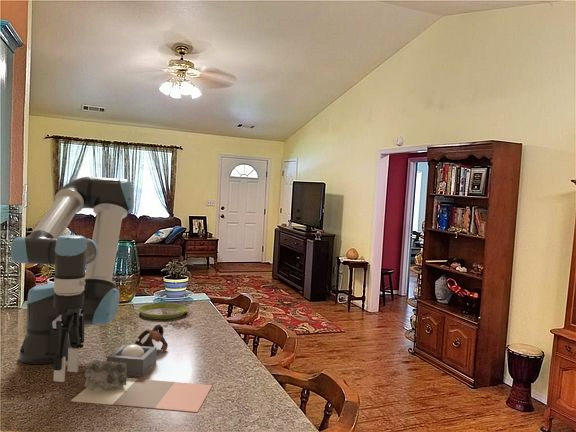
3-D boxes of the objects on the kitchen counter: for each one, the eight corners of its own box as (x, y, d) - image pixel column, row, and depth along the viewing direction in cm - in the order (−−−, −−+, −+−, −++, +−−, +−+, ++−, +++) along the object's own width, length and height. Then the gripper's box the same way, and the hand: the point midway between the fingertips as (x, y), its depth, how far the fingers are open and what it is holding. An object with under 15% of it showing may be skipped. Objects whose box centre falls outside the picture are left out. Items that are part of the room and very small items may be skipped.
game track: (70, 401, 115) (70, 400, 115) (100, 376, 131) (100, 375, 131) (197, 412, 113) (197, 411, 113) (212, 385, 129) (212, 385, 129)
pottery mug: (164, 359, 150) (147, 345, 146) (144, 365, 154) (127, 352, 150) (175, 330, 159) (160, 316, 155) (157, 337, 163) (141, 323, 159)
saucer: (180, 323, 188) (180, 316, 187) (131, 320, 188) (131, 313, 188) (191, 311, 208) (191, 304, 208) (147, 308, 208) (147, 301, 208)
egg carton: (82, 390, 119) (86, 381, 117) (85, 366, 124) (89, 357, 122) (123, 392, 124) (128, 384, 122) (124, 369, 129) (128, 360, 127)
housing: (106, 373, 133) (107, 356, 133) (122, 359, 144) (123, 344, 144) (142, 376, 133) (143, 359, 132) (155, 362, 144) (156, 347, 143)
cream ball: (116, 370, 135) (117, 347, 135) (125, 362, 142) (126, 340, 142) (138, 372, 135) (139, 349, 134) (147, 364, 142) (148, 342, 141)
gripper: (62, 301, 112) (59, 392, 113) (99, 286, 131) (96, 364, 132) (34, 299, 113) (30, 389, 114) (75, 284, 132) (72, 362, 133)
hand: (66, 375), depth 123 cm, fingers open, 6 cm apart
